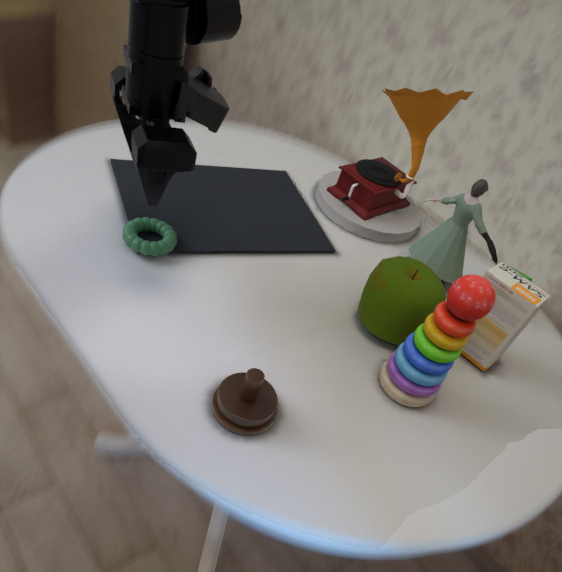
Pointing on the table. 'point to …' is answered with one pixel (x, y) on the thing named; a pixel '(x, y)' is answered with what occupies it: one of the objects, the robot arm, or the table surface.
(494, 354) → the supplement box
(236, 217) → the mat
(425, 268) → the apple
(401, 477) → the table surface
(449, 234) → the character figurine
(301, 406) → the table surface
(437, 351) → the stacking toy
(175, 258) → the table surface
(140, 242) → the ring
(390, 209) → the gramophone
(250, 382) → the stand
